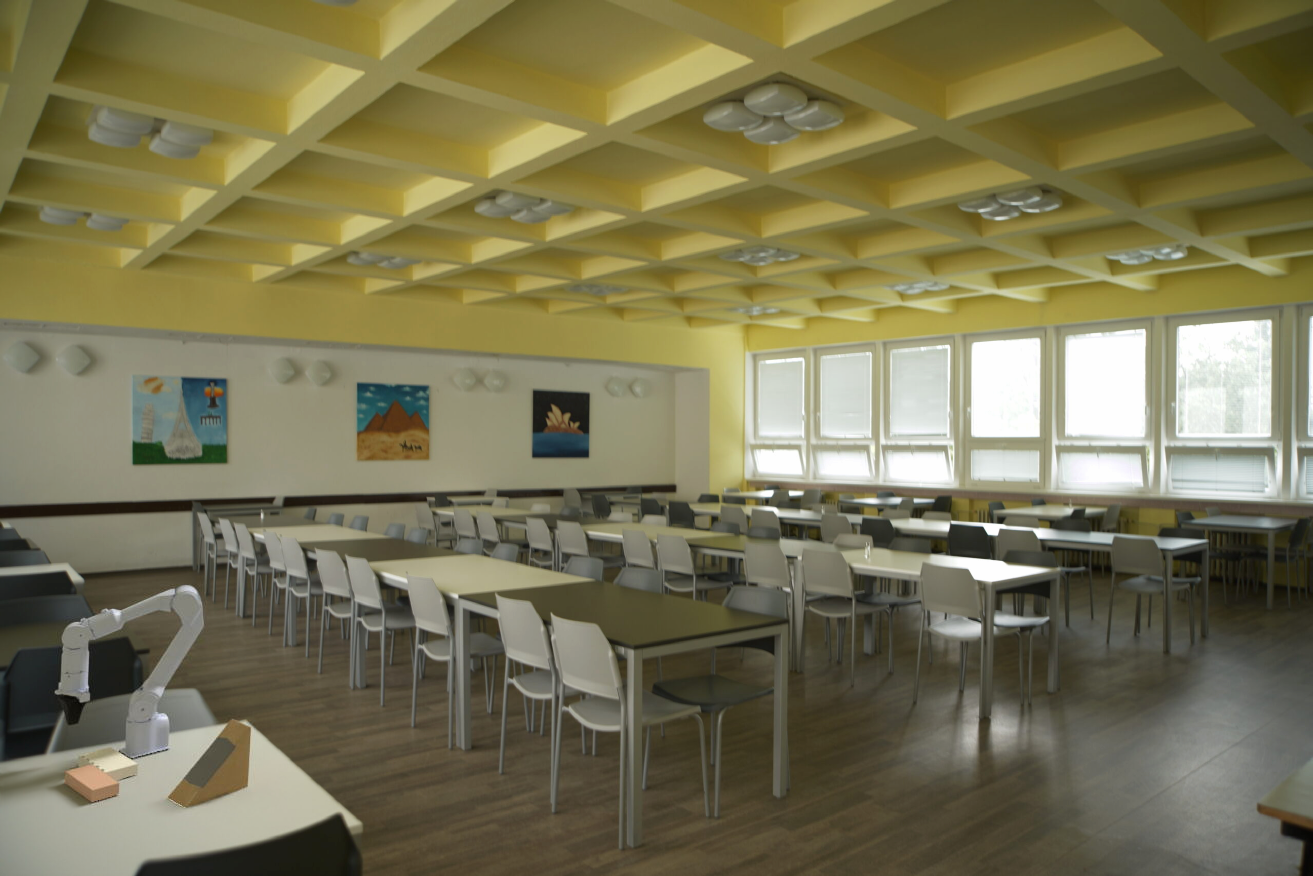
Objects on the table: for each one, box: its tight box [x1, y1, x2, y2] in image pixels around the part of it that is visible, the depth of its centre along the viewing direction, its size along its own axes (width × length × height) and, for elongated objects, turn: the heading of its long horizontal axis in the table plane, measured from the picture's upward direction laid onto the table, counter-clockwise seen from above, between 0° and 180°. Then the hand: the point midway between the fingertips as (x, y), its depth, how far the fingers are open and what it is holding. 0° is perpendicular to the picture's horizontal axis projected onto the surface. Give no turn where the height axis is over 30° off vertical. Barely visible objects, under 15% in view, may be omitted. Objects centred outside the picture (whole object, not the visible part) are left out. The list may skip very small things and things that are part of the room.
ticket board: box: [77, 747, 139, 781], centre depth 209 cm, size 7×16×3 cm, turn 54°
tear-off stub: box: [64, 765, 120, 803], centre depth 198 cm, size 6×16×3 cm, turn 54°
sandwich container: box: [167, 718, 252, 808], centre depth 199 cm, size 9×15×15 cm, turn 146°
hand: (72, 724), depth 214 cm, fingers closed
